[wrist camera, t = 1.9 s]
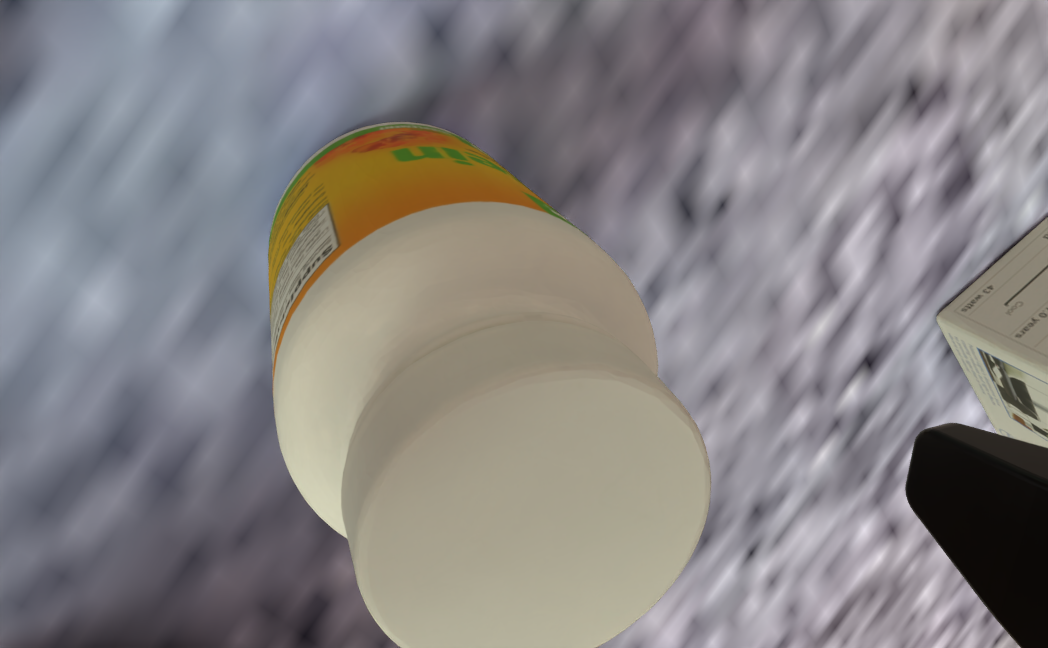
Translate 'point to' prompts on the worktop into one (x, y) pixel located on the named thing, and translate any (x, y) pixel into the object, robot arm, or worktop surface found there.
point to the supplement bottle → (474, 399)
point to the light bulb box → (1007, 338)
